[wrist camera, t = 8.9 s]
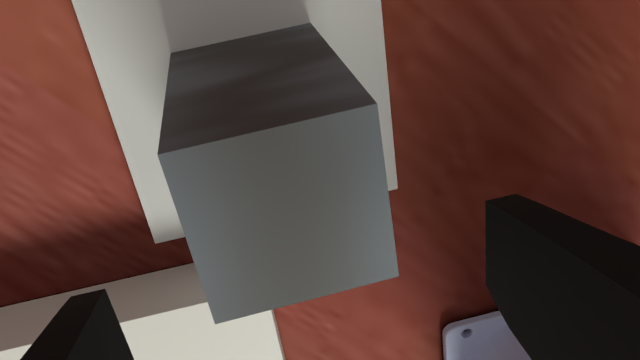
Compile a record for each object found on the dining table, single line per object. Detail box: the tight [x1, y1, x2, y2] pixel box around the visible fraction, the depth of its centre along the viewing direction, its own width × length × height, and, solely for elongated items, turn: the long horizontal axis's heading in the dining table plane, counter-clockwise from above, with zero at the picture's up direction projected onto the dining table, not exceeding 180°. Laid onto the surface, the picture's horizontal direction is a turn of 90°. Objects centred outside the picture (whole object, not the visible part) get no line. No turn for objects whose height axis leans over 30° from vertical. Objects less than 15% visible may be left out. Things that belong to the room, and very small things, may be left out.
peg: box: [157, 23, 399, 324], centre depth 16 cm, size 4×4×8 cm
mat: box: [72, 0, 398, 244], centre depth 19 cm, size 9×9×1 cm
